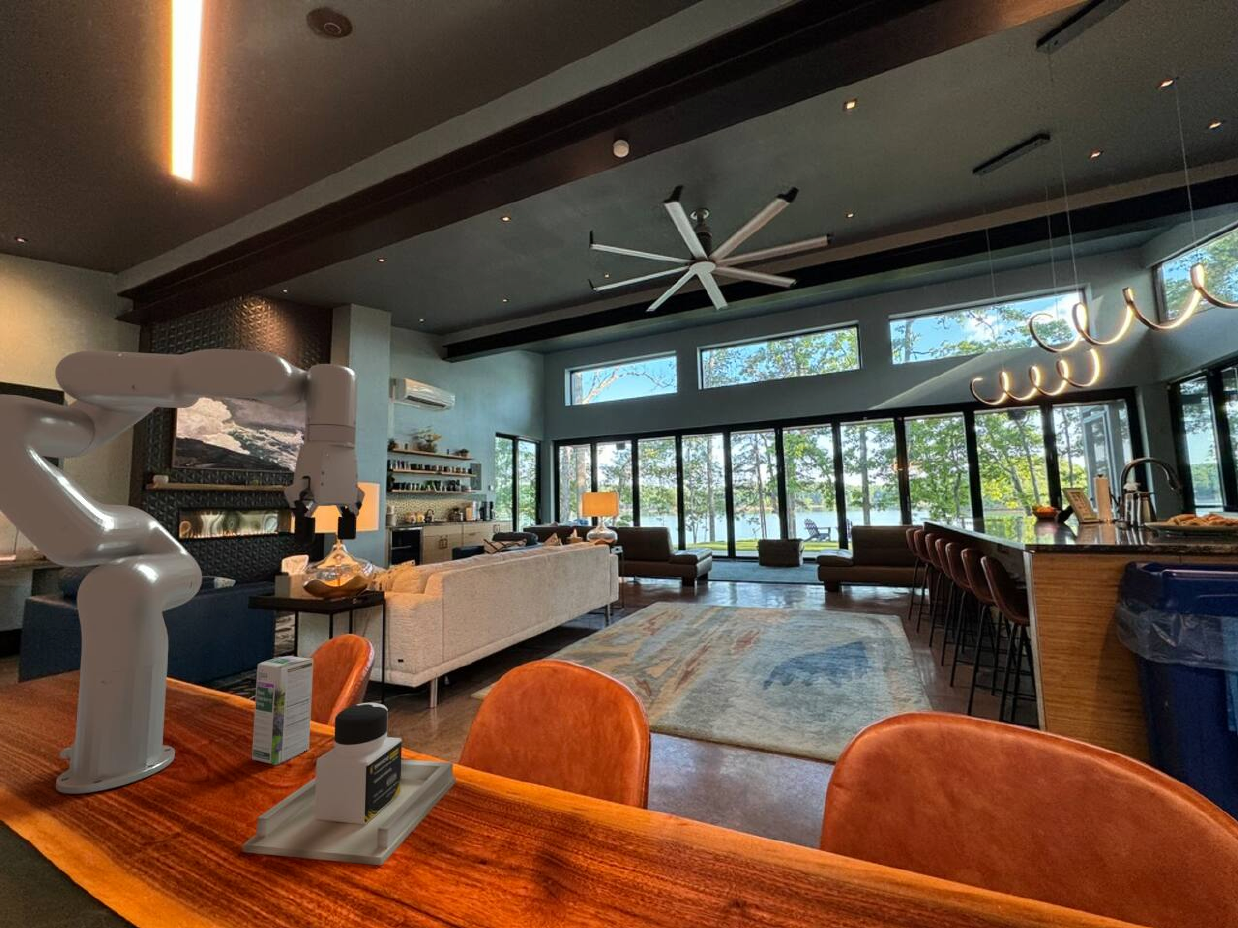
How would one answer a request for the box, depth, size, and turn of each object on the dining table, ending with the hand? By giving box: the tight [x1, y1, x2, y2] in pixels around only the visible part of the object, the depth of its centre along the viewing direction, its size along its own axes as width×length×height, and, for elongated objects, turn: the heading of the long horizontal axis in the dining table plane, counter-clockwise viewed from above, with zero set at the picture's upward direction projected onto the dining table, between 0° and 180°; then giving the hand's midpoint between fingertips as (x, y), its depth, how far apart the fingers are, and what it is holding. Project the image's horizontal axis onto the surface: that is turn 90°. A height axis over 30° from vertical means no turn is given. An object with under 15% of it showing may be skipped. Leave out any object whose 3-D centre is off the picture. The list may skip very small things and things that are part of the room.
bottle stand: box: [242, 758, 457, 866], centre depth 65 cm, size 17×17×3 cm
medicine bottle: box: [314, 702, 403, 825], centre depth 65 cm, size 7×7×12 cm
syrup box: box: [251, 655, 314, 766], centre depth 82 cm, size 6×6×14 cm
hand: (326, 541), depth 85 cm, fingers open, 9 cm apart
